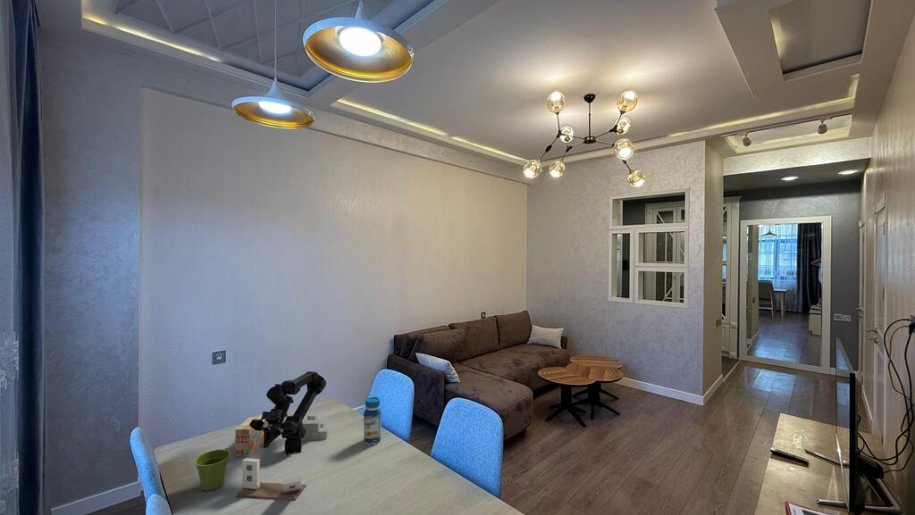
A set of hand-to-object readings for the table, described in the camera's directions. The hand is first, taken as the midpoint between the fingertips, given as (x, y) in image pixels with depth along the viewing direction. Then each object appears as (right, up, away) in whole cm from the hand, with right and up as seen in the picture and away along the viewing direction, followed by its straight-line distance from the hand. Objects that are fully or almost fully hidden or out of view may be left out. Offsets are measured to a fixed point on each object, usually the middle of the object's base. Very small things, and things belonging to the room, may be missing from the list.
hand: (264, 448), depth 151 cm
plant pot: (-17, -12, -5) cm, 22 cm away
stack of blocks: (-18, -12, +27) cm, 35 cm away
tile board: (+7, -12, -9) cm, 16 cm away
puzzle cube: (+8, -12, +37) cm, 39 cm away
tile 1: (+15, -10, -9) cm, 21 cm away
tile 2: (-1, -10, -8) cm, 13 cm away
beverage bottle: (+37, -12, +30) cm, 49 cm away
